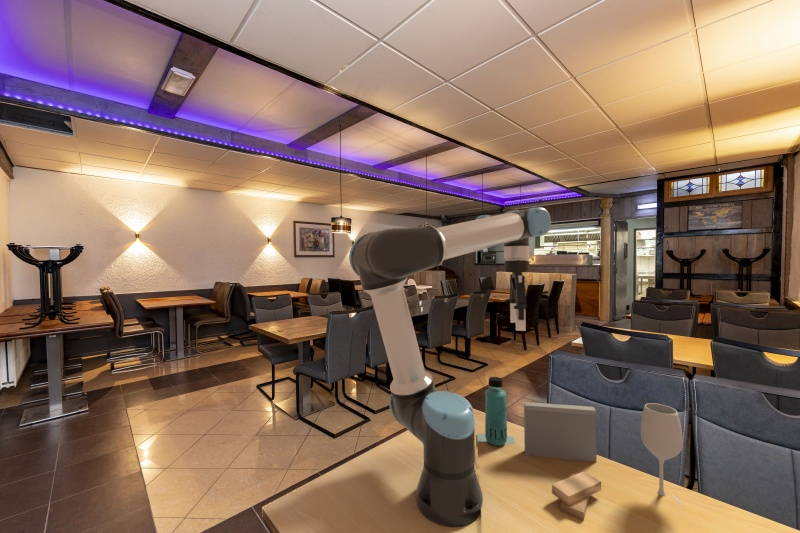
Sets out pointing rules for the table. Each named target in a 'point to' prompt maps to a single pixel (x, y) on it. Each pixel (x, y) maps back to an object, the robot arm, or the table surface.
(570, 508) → the offcut middle
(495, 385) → the beverage bottle
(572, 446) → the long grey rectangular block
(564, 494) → the offcut top
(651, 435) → the wineglass
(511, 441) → the mat
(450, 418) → the robot arm
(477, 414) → the table surface
